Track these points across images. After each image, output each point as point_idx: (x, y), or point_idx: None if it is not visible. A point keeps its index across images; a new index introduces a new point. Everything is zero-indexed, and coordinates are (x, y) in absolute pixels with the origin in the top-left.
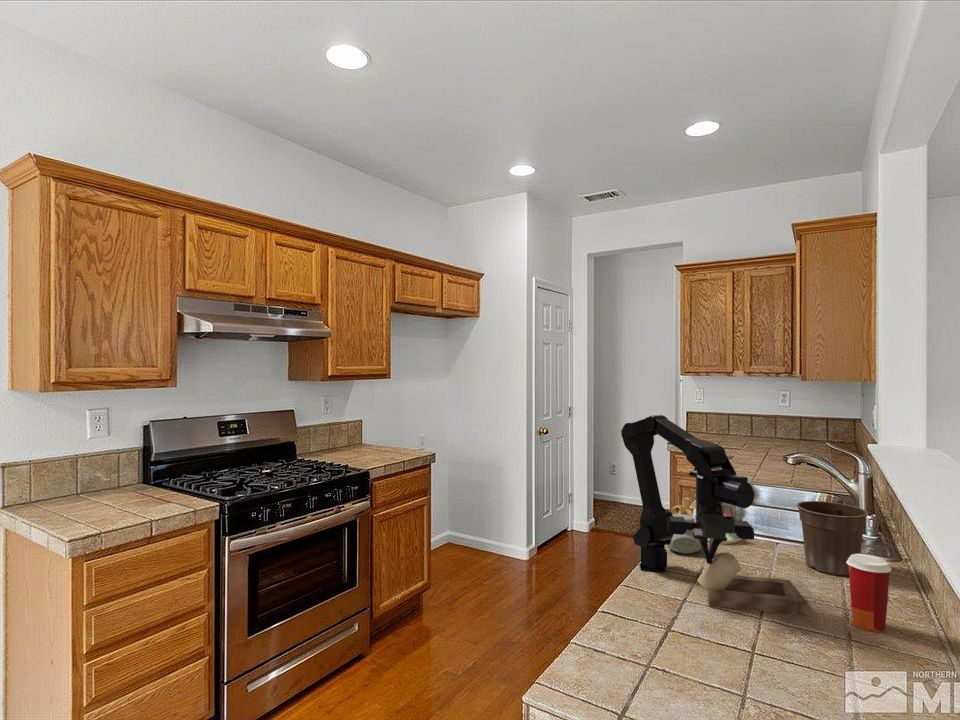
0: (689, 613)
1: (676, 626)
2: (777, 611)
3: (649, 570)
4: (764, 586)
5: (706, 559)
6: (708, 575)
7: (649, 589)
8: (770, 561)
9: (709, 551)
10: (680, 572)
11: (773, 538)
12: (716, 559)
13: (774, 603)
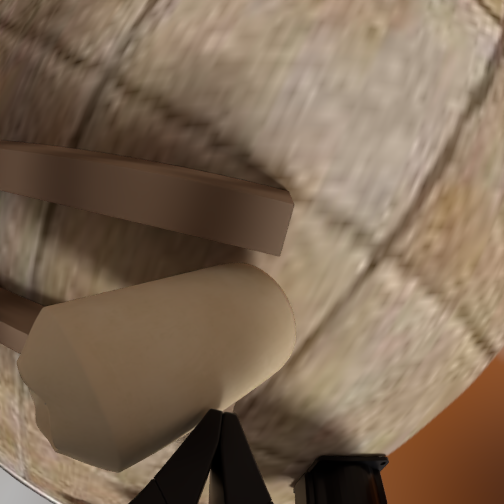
0: (414, 121)
1: (485, 38)
2: (28, 143)
3: (366, 457)
4: (17, 313)
5: (244, 437)
6: (249, 338)
7: (451, 344)
8: (25, 443)
9: (200, 495)
10: (267, 456)
11: (31, 488)
12: (162, 424)
13: (15, 146)
